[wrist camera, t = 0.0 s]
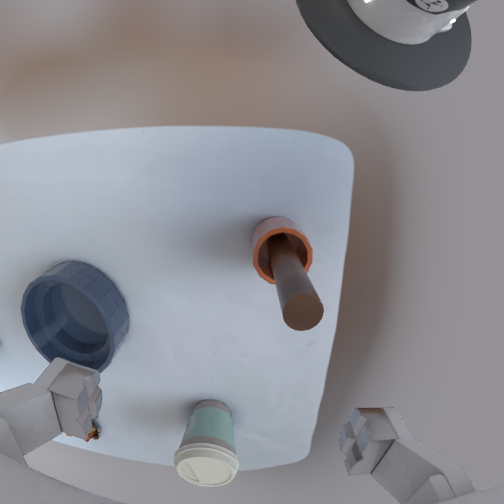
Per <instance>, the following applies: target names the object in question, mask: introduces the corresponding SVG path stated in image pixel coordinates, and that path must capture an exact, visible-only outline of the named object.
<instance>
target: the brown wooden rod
mask: <svg viewBox="0 0 504 504" xmlns="http://www.w3.org/2000/svg"><path fill="white" fill-rule="evenodd" d="M266 246H267V250H268V254H269V258H270V263H271V267H272V271H273V275H274V280H275V284H276V288H277V293H278V297H279V301H280V306H281V310H282V314H283V318H284V321H285V323H286V324H287V325H288V326H289V327H290V328H292V329H294V330H298V331H304V330H309V329H311V328H313V327H315V326H316V325H317V324H318V323H319V322H320V320H321V319H322V316H323V312H324V308H323V304H322V302H321V300H320V298H319V296H318V294H317V292H316V291H315V289H314V287H313V285H312V283H311V281H310V279H309V277H308V275H307V273H306V271H305V269H304V267H303V265H302V264H301V262H300V260H299V258H298V256H297V254H296V252H295V250H294V248H293V246H292V245H291V243H290V241H289V239H288V237H287V236H286V234H284V233H283V232H282V233H278V234H275V235H271V236H270V237H269V238H268V239H266Z"/></svg>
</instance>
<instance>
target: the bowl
mask: <svg viewBox="0 0 504 504" xmlns="http://www.w3.org/2000/svg"><path fill="white" fill-rule="evenodd" d="M21 312H22V319H23V324H24V327H25V329H26V332H27V334H28V337H29V339H30V340H31V342H32V343H33V345H34V346H35V348H36V349H37V351H38V352H39V353H40V354H41V355H42V356H43V357H44V358H45V359H46V360H47V361H48V362H49V363H51V362H52V361H53V360H54V359H55V358H57V357H59V358H62V359H65V360H67V361H70V362H74V363H77V364H80V365H83V366H86V367H89V368H92V369H95V370H98V371H99V373H101V372H102V371H103V370H104V369H105V368H106V367H108V366H109V365H110V363H111V362H112V360H113V358H114V357H115V355H116V353H117V352H118V350H119V349H120V347H121V345H122V344H123V342H124V339H125V337H126V334H127V332H128V314H127V310H126V307H125V303H124V300H123V298H122V297H121V295H120V293H119V292H118V290H117V288H116V287H115V285H114V284H113V283H112V282H111V281H110V280H109V279H108V278H107V277H106V276H105V275H104V274H103V273H102V272H100V271H98V270H96V269H95V268H93V267H91V266H89V265H87V264H83V263H78V262H67V263H61V264H59V265H57V266H56V267H54V268H53V269H51V270H50V271H48V272H46V273H45V274H43V275H42V276H40V277H39V278H37V279H36V280H34V281H33V282H31V283H30V284H29V285H28V287H27V289H26V291H25V292H24V294H23V299H22V306H21Z"/></svg>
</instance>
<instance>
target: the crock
mask: <svg viewBox="0 0 504 504" xmlns="http://www.w3.org/2000/svg"><path fill="white" fill-rule="evenodd" d="M282 232H283V233H284V234H286V236H287V237H288V239H289V241H290V243H291V245H292V246H293V248H294V250H295V252H296V254H297V256H298V258H299V260H300V262H301V264H302V265H303V267H304V269H305V271H306V273H307V272H308V270H309V268H310V266H311V264H312V247H311V245H310V243H309V241H308V239H307V238H306V236H305V235H304V234H303V232H302V231H301V230H300V229H299V227H298V226H297V225H296V224H295V223H294V222H292V221H291V220H289V219H287V218H284V217H271V218H268V219H265V220H264V221H262V222H261V223H260V224H259V225H258V226H257V227H256V229H255V231H254V233H253V236H252V253H253V265H254V267H255V269H256V271H257V272H258V274H259V276H260V277H261V278H263V279H264V280H266V281H267V282H269V283H271V284H275V280H274V275H273V271H272V267H271V263H270V258H269V254H268V250H267V246H266V239H268V238H269V237H270V236H271V235H275V234H278V233H282Z"/></svg>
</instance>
